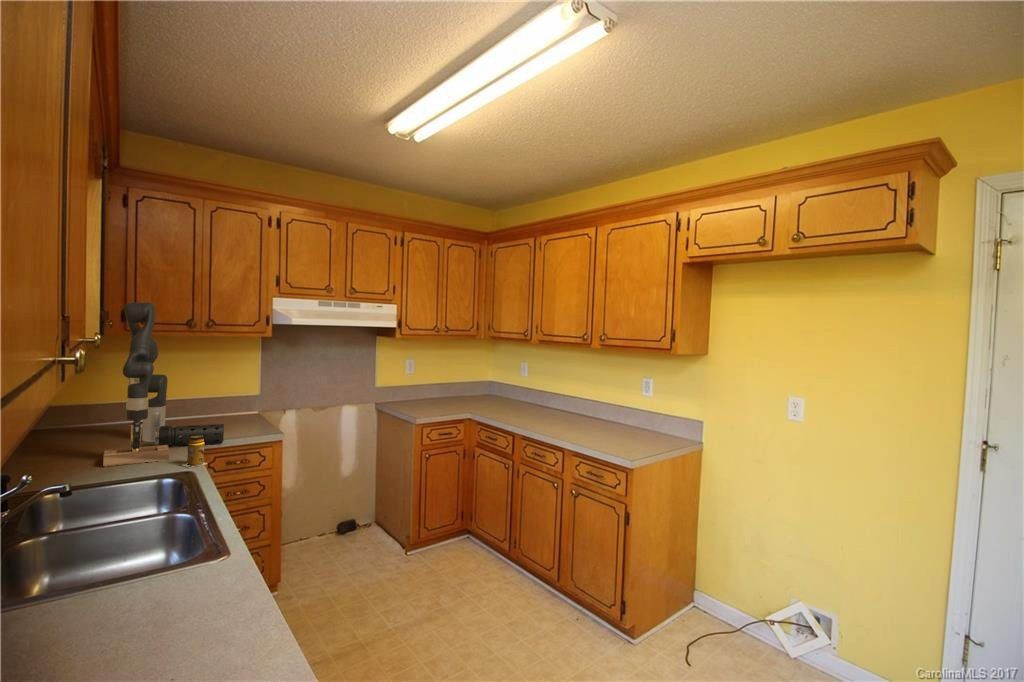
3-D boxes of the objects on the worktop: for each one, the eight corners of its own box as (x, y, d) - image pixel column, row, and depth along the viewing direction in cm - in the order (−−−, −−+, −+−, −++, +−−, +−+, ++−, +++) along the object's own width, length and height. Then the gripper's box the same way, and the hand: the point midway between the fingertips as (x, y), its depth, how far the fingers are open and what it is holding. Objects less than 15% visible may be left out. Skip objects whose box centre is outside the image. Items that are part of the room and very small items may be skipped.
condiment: (208, 463, 212) (209, 436, 212) (187, 468, 204) (188, 439, 204) (198, 461, 215) (199, 434, 215) (177, 465, 208) (178, 437, 208)
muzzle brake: (222, 445, 244) (223, 425, 244) (153, 450, 230) (154, 428, 230) (223, 441, 252) (224, 421, 252) (156, 445, 238) (157, 424, 238)
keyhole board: (104, 460, 210) (104, 450, 209) (167, 454, 223) (167, 444, 223) (103, 467, 200) (103, 456, 200) (168, 460, 214) (169, 450, 214)
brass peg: (128, 459, 212) (129, 426, 211) (142, 457, 215) (143, 425, 214) (128, 461, 208) (129, 428, 207) (142, 460, 211) (143, 427, 211)
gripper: (126, 406, 214) (124, 445, 214) (126, 411, 203) (124, 452, 203) (147, 405, 219) (146, 443, 219) (148, 409, 208) (147, 450, 208)
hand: (136, 447), depth 211 cm, fingers closed on brass peg, 3 cm apart
